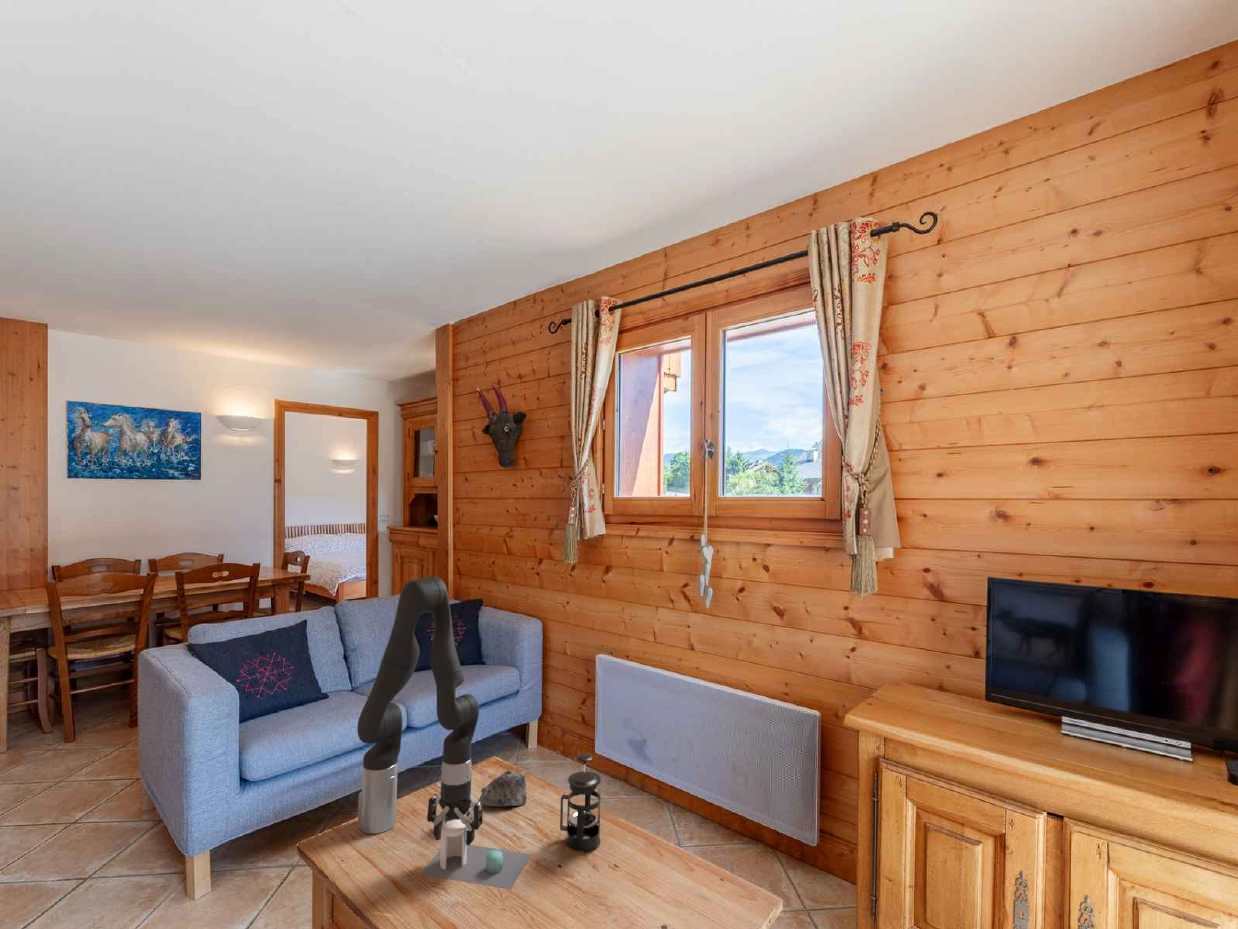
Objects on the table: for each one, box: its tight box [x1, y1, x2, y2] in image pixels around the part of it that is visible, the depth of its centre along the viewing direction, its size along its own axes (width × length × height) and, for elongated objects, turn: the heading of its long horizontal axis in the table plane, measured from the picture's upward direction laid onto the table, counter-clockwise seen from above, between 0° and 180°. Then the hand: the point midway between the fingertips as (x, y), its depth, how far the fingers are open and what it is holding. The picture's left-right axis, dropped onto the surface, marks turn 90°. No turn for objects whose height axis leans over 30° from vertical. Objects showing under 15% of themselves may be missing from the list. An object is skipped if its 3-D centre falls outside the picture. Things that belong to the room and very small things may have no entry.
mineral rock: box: [478, 769, 528, 808], centre depth 182 cm, size 13×11×10 cm
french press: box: [559, 753, 602, 853], centre depth 163 cm, size 12×9×23 cm
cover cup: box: [440, 820, 468, 870], centre depth 152 cm, size 6×6×9 cm
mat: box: [419, 844, 532, 890], centre depth 152 cm, size 24×14×1 cm, turn 78°
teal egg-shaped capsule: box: [486, 850, 503, 874], centre depth 150 cm, size 4×4×4 cm
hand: (454, 841), depth 152 cm, fingers open, 8 cm apart
